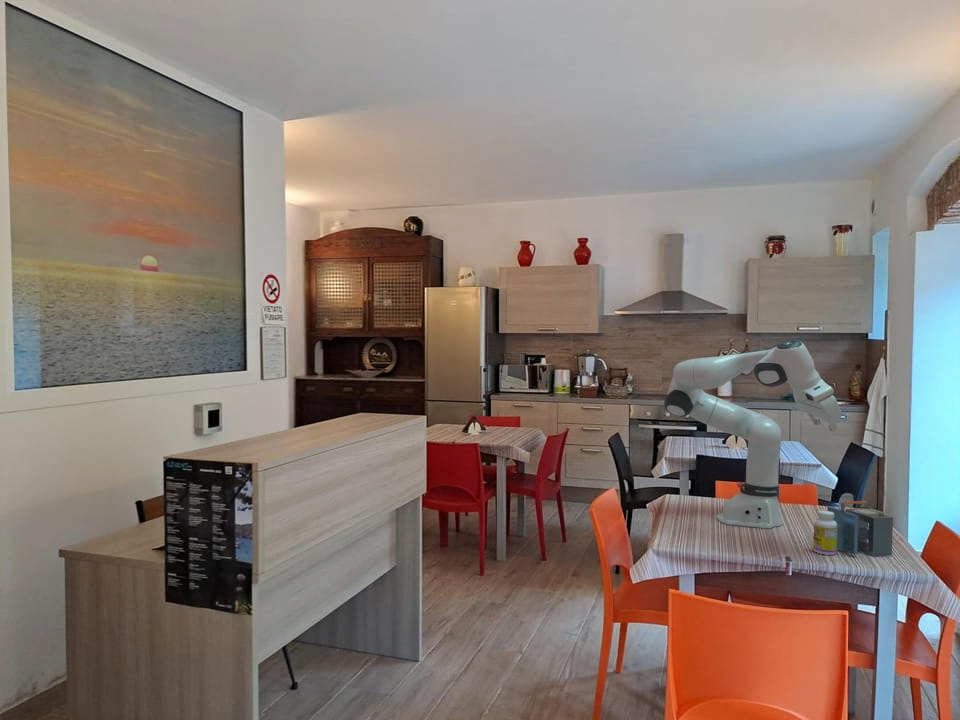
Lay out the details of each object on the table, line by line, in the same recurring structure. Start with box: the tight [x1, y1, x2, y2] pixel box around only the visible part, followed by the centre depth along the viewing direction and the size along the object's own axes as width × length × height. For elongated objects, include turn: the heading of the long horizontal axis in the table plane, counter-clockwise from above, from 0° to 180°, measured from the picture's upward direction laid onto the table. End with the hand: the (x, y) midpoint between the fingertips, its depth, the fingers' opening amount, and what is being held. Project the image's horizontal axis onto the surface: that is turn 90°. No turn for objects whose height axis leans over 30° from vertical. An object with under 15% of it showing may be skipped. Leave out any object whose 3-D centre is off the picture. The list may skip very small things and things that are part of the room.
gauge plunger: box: [827, 500, 869, 555], centre depth 216 cm, size 10×12×15 cm
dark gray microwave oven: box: [845, 507, 894, 557], centre depth 217 cm, size 7×12×13 cm, turn 12°
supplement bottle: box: [812, 510, 838, 556], centre depth 214 cm, size 7×7×13 cm
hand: (826, 427), depth 212 cm, fingers open, 8 cm apart
